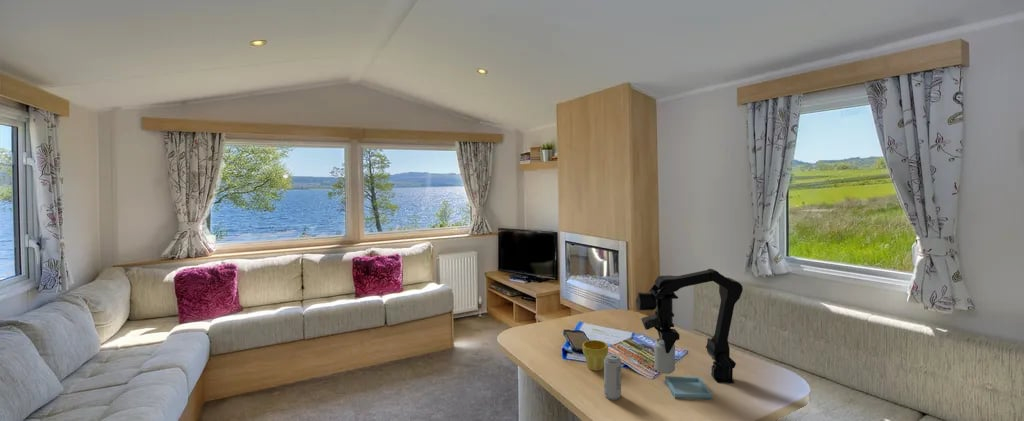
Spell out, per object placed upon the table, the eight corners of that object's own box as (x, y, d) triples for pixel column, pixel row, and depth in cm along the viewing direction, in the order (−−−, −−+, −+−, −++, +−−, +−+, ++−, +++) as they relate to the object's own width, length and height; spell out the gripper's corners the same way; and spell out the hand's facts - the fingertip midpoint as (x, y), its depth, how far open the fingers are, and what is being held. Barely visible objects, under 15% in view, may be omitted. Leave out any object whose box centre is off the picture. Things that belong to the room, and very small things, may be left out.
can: (676, 375, 161) (676, 344, 160) (655, 374, 163) (655, 343, 162) (673, 366, 169) (673, 337, 168) (653, 365, 170) (653, 336, 169)
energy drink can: (606, 390, 159) (607, 351, 157) (623, 394, 156) (623, 354, 154) (601, 398, 154) (601, 357, 152) (618, 402, 151) (618, 361, 149)
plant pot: (582, 361, 184) (582, 339, 183) (606, 362, 182) (606, 340, 181) (583, 372, 173) (582, 349, 173) (609, 373, 172) (609, 350, 171)
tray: (699, 381, 164) (699, 377, 164) (712, 399, 151) (712, 394, 151) (664, 380, 165) (664, 376, 165) (674, 398, 152) (674, 393, 152)
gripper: (638, 302, 174) (638, 339, 175) (648, 317, 155) (648, 359, 157) (666, 302, 172) (666, 339, 174) (679, 317, 154) (680, 359, 155)
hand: (664, 348), depth 165 cm, fingers closed on can, 7 cm apart
